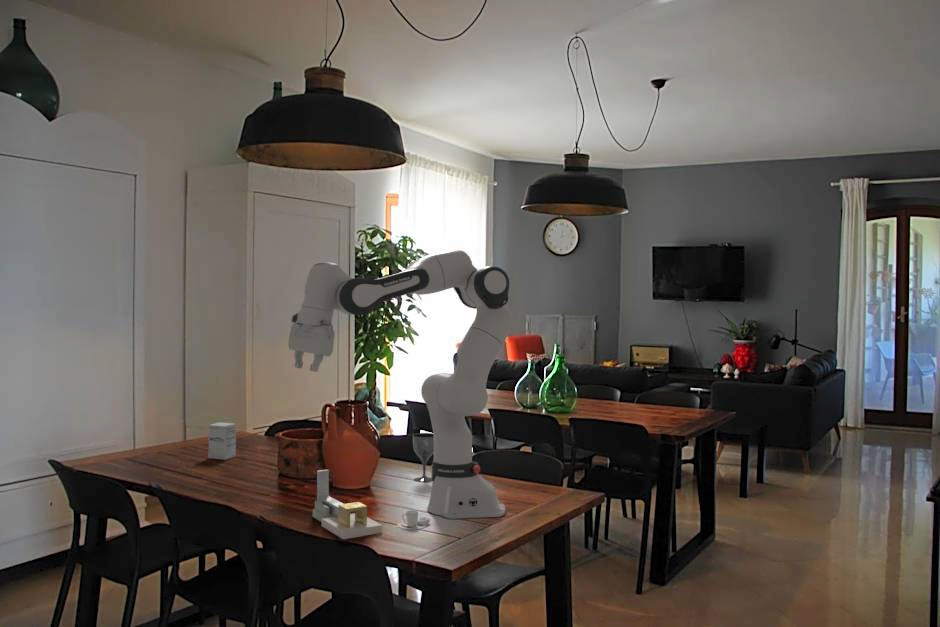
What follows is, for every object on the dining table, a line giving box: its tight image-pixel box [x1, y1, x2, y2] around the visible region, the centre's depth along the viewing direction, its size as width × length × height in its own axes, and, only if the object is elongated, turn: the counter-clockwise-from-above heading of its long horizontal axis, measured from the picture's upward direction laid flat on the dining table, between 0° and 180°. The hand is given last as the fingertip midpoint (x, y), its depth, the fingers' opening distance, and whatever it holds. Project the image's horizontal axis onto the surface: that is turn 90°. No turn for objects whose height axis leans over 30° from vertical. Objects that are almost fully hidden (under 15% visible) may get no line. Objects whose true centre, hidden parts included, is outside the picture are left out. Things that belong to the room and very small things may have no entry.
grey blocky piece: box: [312, 498, 339, 523], centre depth 220 cm, size 8×7×4 cm
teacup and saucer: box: [396, 509, 431, 531], centre depth 215 cm, size 9×8×4 cm
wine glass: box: [412, 432, 434, 483], centre depth 267 cm, size 8×8×15 cm
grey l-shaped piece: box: [316, 469, 344, 518], centre depth 218 cm, size 15×3×10 cm, turn 34°
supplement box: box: [207, 422, 237, 461], centre depth 297 cm, size 7×7×13 cm
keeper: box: [338, 501, 368, 528], centre depth 208 cm, size 5×6×5 cm
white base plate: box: [321, 512, 383, 540], centre depth 210 cm, size 14×11×2 cm
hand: (305, 369), depth 218 cm, fingers open, 8 cm apart
